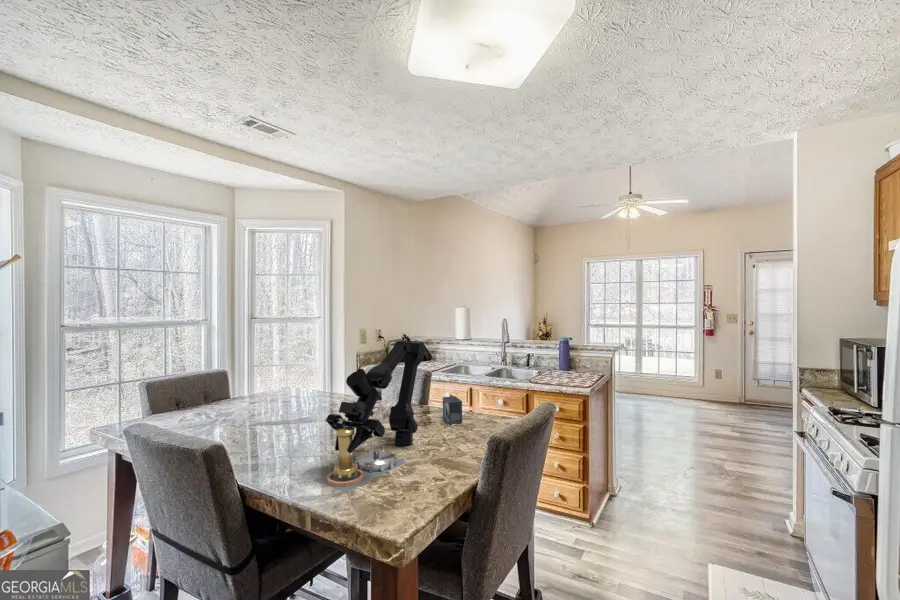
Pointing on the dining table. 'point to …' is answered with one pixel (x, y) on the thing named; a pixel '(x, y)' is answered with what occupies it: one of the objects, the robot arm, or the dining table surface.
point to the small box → (452, 410)
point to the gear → (376, 461)
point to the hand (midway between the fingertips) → (342, 451)
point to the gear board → (352, 479)
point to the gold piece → (345, 454)
